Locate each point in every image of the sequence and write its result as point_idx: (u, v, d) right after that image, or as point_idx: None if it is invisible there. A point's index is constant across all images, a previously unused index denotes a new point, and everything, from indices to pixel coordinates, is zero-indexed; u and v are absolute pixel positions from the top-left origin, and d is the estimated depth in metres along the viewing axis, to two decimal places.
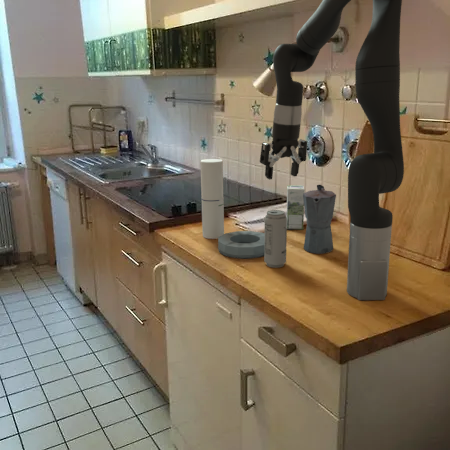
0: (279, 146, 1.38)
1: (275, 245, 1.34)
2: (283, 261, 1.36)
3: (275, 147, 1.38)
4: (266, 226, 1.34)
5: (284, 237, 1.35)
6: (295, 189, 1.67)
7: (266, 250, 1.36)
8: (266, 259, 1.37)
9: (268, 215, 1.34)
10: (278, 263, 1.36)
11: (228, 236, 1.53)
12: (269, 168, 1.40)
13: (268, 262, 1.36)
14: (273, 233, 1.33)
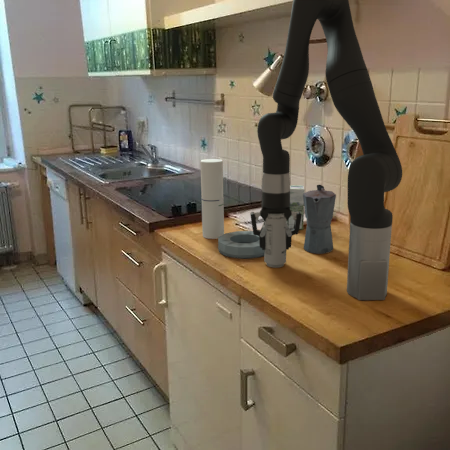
0: (266, 215, 1.34)
1: (275, 245, 1.34)
2: (283, 261, 1.36)
3: (262, 215, 1.34)
4: None
5: (284, 237, 1.35)
6: (295, 189, 1.67)
7: (266, 250, 1.36)
8: (266, 259, 1.37)
9: (268, 215, 1.34)
10: (278, 263, 1.36)
11: (228, 236, 1.53)
12: (261, 238, 1.36)
13: (268, 262, 1.36)
14: (273, 233, 1.33)
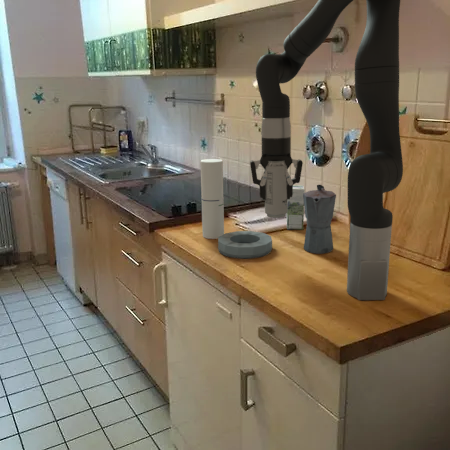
0: (266, 163, 1.30)
1: (275, 194, 1.30)
2: (284, 211, 1.32)
3: (262, 163, 1.30)
4: None
5: (285, 185, 1.31)
6: (295, 189, 1.67)
7: (266, 200, 1.32)
8: (267, 209, 1.33)
9: (268, 163, 1.30)
10: (279, 213, 1.32)
11: (228, 236, 1.53)
12: (261, 187, 1.32)
13: (269, 212, 1.32)
14: (274, 181, 1.30)
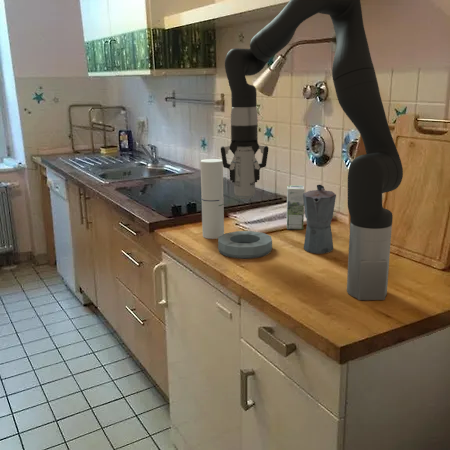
0: (235, 148, 1.42)
1: (243, 177, 1.42)
2: (252, 193, 1.44)
3: (231, 149, 1.42)
4: None
5: (252, 169, 1.43)
6: (295, 189, 1.67)
7: (236, 182, 1.44)
8: (236, 191, 1.45)
9: (237, 148, 1.42)
10: (247, 194, 1.44)
11: (228, 236, 1.53)
12: (230, 171, 1.44)
13: (237, 194, 1.45)
14: (242, 165, 1.42)
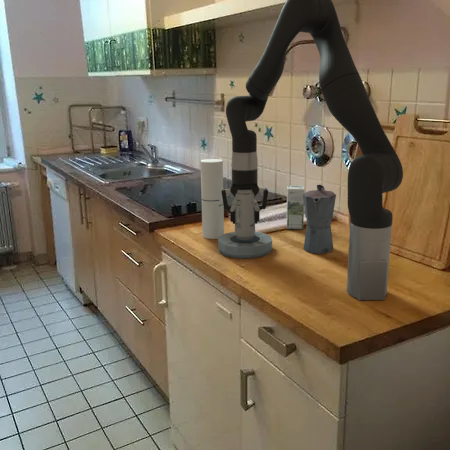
0: (235, 191, 1.45)
1: (244, 219, 1.46)
2: (252, 234, 1.48)
3: (232, 191, 1.46)
4: (236, 201, 1.46)
5: (252, 211, 1.46)
6: (295, 189, 1.67)
7: (236, 224, 1.48)
8: (236, 232, 1.48)
9: (237, 191, 1.45)
10: (247, 235, 1.47)
11: (228, 236, 1.53)
12: (231, 213, 1.48)
13: (238, 235, 1.48)
14: (242, 208, 1.45)
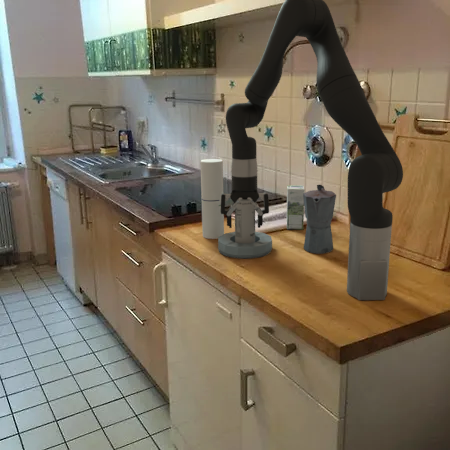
0: (236, 197, 1.46)
1: (244, 228, 1.47)
2: None
3: (231, 197, 1.46)
4: (236, 211, 1.47)
5: (252, 221, 1.47)
6: (295, 189, 1.67)
7: (236, 233, 1.48)
8: (236, 241, 1.49)
9: None
10: None
11: (228, 236, 1.53)
12: (228, 217, 1.48)
13: None
14: (242, 218, 1.46)
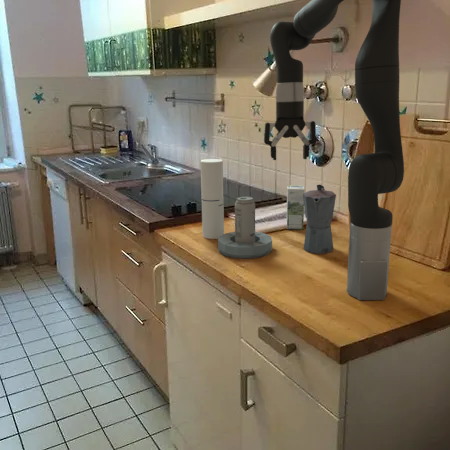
0: (281, 125, 1.37)
1: (244, 228, 1.47)
2: None
3: (276, 126, 1.37)
4: (236, 211, 1.47)
5: (252, 221, 1.47)
6: (295, 189, 1.67)
7: (236, 233, 1.48)
8: (236, 241, 1.49)
9: (238, 201, 1.46)
10: None
11: (228, 236, 1.53)
12: (272, 148, 1.39)
13: None
14: (242, 218, 1.46)
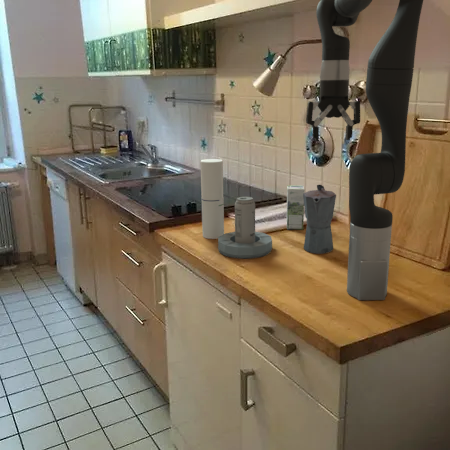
0: (324, 105, 1.34)
1: (244, 228, 1.47)
2: None
3: (320, 105, 1.34)
4: (236, 211, 1.47)
5: (252, 221, 1.47)
6: (295, 189, 1.67)
7: (236, 233, 1.48)
8: (236, 241, 1.49)
9: (238, 201, 1.46)
10: None
11: (228, 236, 1.53)
12: (314, 128, 1.36)
13: None
14: (242, 218, 1.46)
